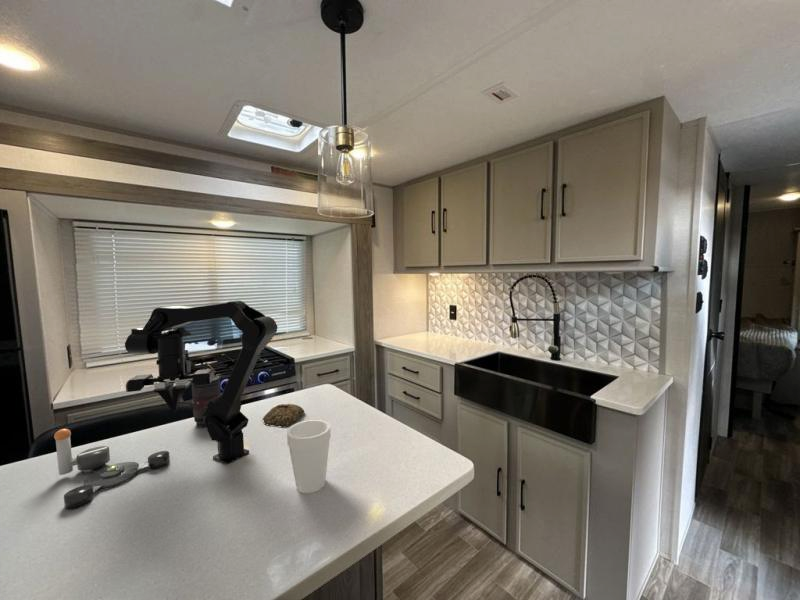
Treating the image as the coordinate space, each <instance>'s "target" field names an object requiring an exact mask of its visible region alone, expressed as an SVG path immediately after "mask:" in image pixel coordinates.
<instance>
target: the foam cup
mask: <svg viewBox="0 0 800 600" xmlns="http://www.w3.org/2000/svg"><path fill="white" fill-rule="evenodd" d="M286 438H287V441H286V442H287V446H288V449H289V455H290V460H291V465H292V471H293V476H294V482H295V487H296V490H297V491H298V492H299V493H301V494H313V493H315V492H317V491H318V492H319V491H320V490H321V489H323V488H324V486H325V484H326V479H327V468H328V459H329V449H330V440H331V438H332V437H331V425H330V423H329V422H327V421H325V420H320V419H307V420H304V421H303V420H302V421H299V422H295V423H293V424H291V425H290V427H289V428H287V430H286ZM322 487H323V488H322Z"/></svg>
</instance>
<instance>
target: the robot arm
mask: <svg viewBox="0 0 800 600" xmlns="http://www.w3.org/2000/svg"><path fill="white" fill-rule="evenodd" d="M220 318H229V319H230V320H231V321H232V323H233V324H234V326H235V327H236V328H237V329H238V330H240V331H241V333H242V334H241V338H240V339H241V350H240V352H239V355H238V357H237V359H236V361H235V364H234V366H233V368H232V371H231V373H230V375H229V377H228V380H227V382H226V385H225V386H224V388H223V391H222V393H221V394H220V396H218V397H217V398H215V399H213V400H211V401H210V402H209V404H208V407H207V410H206V412H205V413H204V414H203V416H205V418H204V424H205V426H206V427H205V428H206V429H207V432H208V434H209V437H210V439H211V441H214V442H216V443H217V452H218V453H217V454H214V455H213V456H212V460H216V461H218V462H222V463H224V464H226V465H229V464H231V463H233V462H235V461H236V460H238V459H240V458H242V457H244V456H246V455H247V454H249V453H250V450H249V449H247V448H245V446H244V445H245V443H244V442H245V441H244V432H243V430H244V428H246V427H247V426H248V423H249V418H248V417H247V416H246V415H245V414H243V412H241V408H242V401H241V397H242V396H243V393H244V391H245V388H246V387H247V384H248V382H249V380H250V377H251V375H252V373H253V370H254V368H255V366H256V364H257V362H258V360H259V357H260V355H261V352H262V351H263V350H264V349H265V348H266V347H267V345H268V344H269V343H270V342H271V341H272V339H273V337H274V336H275V335H276V333H277V331H278V325H277V322H276V321H275V319H274V318H272V317H271V316H266V315H265V314H263V313H262V312H261V311H259V310H257V309H255V308H253V307H252V306H251V307H250V306H249V305H248V304H247V303H246V302H244V301H242V300H231V301H227V302H225V303H217V304H207V305H203V306H202V305H201V306H195V307H194V306H187V305H173V306H172V305H171V306H170V305H169V306H163V307H157V308H154V309H153V310H152V312H151V314H150V317H149V319H148V320H147V322H146V324H145V325H144V326H143V327H135V328H131V331H130V332H131V333H130V334H129V335H128V336H127V337H126V340H125V342H124V347H125V350H126V351H127V353H129V354H131V355H134V354H135V355H137V354H139V355H140V354H141V355H142V354H143V355H145V354H147V355H149V354H150V355H151V354H152V355H153V354H154V355H155V354H157V360H156V362H155V363H156V365H158V376H156V377H154V375H153V374H152V373H149V374H137V375H134V377H132V378H130V379H129V380H127V381H126V383H125V391H126V392H127V393H130V392H131V393H133V392H140V391H142V389H144V387H147V386H154V387H153V388H154V389H153V390H152V392H153V393H157V394H158V395H159V396H160V397H161V398H162V399H163V400H164V402H165V403H166V405H167V407H168V408H169V409H170V411H171V412H172V413H176V412H177V410H178V408H179V405H180V402H181V399H182V396H183V393H184V391H185V390H187V388H188V387H190V386H191V385H192V381H193V383H194V384H195V385H204V384H209V383H211V381H212V380H213V379H214V376H215V371H214V370H213V369H212V368H207V369H206V368H205V369H198V370H196V371H195V372H194V373H192V374H189V373H191V371H192V370H191V368H192V361H191V360H189V359H186V353H185V348H184V347H185V346H184V338H185V337H189V336H191V335H192V333H191V332H190V331H189V330H187V329H185V327H182V326H185V325H186V326H187V325H189V324H191V323H193V322H199V321H205V320H212V319H213V320H214V319H220ZM175 328H176V329H175ZM173 329H175V330H173ZM174 384H175V386H174Z"/></svg>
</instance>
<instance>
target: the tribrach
mask: <svg viewBox="0 0 800 600" xmlns="http://www.w3.org/2000/svg"><path fill="white" fill-rule="evenodd" d="M170 462H171V459H170V452H169V451H168V450H163V451H162V450H161V451H157V452H154V453H151V454H150V455H149V456H148V457H147V462H142V463H138V462H135V461H125V462H120V463H119V462H118V463H114V464H112V465H108V464H107V463H106V464H104V465H102V466H100V467H98V468H95V469H91V470H85V471H83V473H84V474H90V475H89V476H87V477H86V478H85V479H84V480H83V481H84V482H83V485H81V486H78V487H75V488H72V489H71V490H69V491H67V492H65V493H64V495H63V500H64V510H66V511H72V510H77V509H79V508H83V507H85V506H86V505H89V504H90V503H92V501H93V500H94V497H95V496H96V495H98V494H99V493H100V492H102V491H103V490H107V489H112V488H115V487H117V486H120V485H122V484H125V483H126V482H128V481H130V480H132V479H133V478H135V477H136V476H137V475H138V474H139V473H144V472H147V471H156V470H159V469H163V468H166V467H167V466H168V465H170Z"/></svg>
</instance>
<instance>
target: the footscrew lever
mask: <svg viewBox="0 0 800 600" xmlns="http://www.w3.org/2000/svg"><path fill="white" fill-rule="evenodd" d="M71 435H72V432H71V430H70V429H68V428H61V429H59V430H58V431H56V432H55V433H54V435H53V437H54V440H55V446H56V447H55V448H56V456H57V457H56V458H57V469H58V470H57V471H58V475H59V476H63V475H67V474H70V473H72V472H73V470H74V466H76V468H77V471H80V472H81V471H82V472H84V471H85V470H91V469H95V468H98V467H100V466H102V465H104V464H106V465H107V463H109V462H110V461H111V456H110V455H111V454H110V447H109V446H107V445H103V446H102V445H101V446H96V447H92V448H88V449H86V450H83V451H82V452H80V453H78V454H77V455H76V457H74V458H73V456H72V455H73V454H72V444H71V442H72V441H71Z"/></svg>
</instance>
